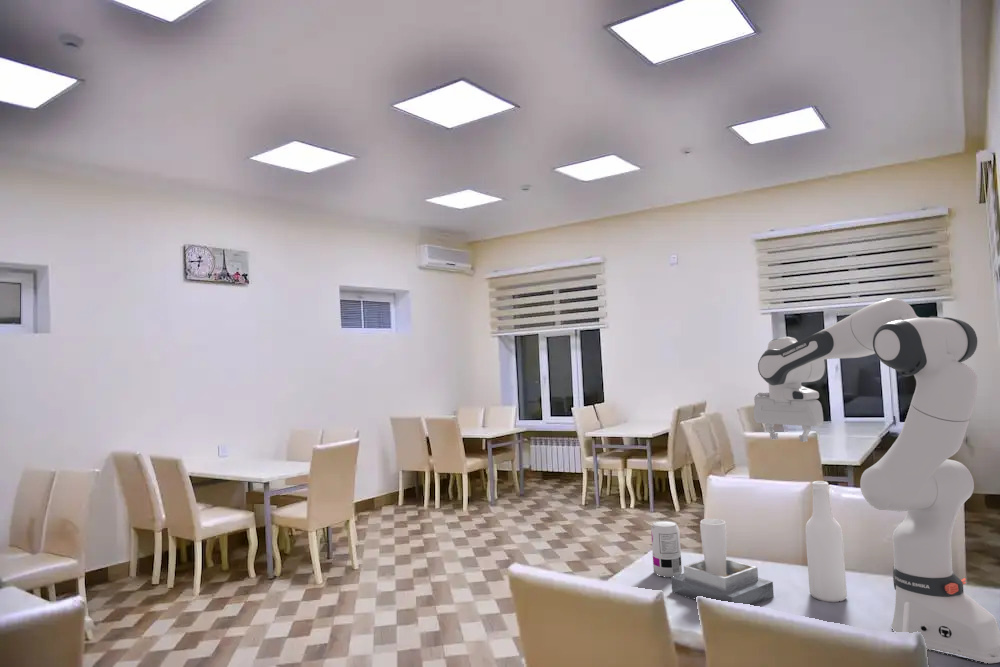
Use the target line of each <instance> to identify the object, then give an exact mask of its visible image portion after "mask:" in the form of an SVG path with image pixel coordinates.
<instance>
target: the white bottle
mask: <svg viewBox="0 0 1000 667" xmlns="http://www.w3.org/2000/svg"><path fill="white" fill-rule="evenodd" d="M811 485H812V486H811V488H812V514H811V517H809V519H808V520H807V522H806V524H805V530H804V532H805V544H806V545H805V546H806V557H807V573H808V586H809V593H810V595H811V596H812V597H813V598H814V599H816V600H818V601H821V602H826V603H827V602H829V603H840V602H843V601H845V599H846V598H847V596H848V594H847V593H848V592H847V579H846V565H845V552H844V540H843V538H844V537H843V529H842V526H841V524H840V523H839V522H838V521H837V519H836V518H834V515H833V512H832V505H831V498H830V493H829V489H830V487H829V485H830V484H829V482H828V481H825V480H816V481H812V482H811ZM839 601H840V602H839Z"/></svg>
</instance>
